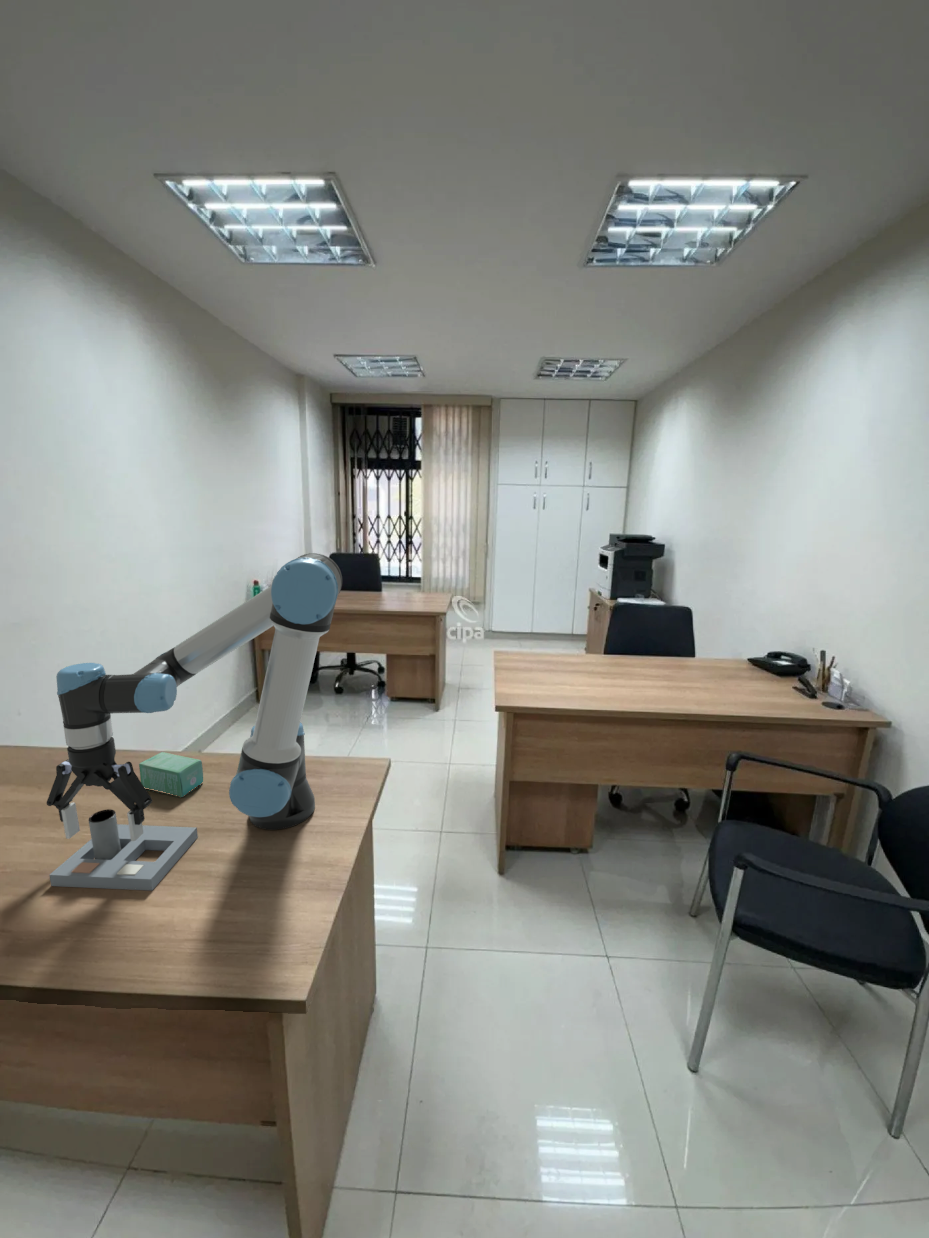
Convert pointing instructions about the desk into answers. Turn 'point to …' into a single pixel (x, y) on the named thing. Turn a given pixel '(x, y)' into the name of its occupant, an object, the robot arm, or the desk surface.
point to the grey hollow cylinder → (104, 834)
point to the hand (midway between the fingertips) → (105, 835)
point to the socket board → (126, 860)
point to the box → (171, 773)
